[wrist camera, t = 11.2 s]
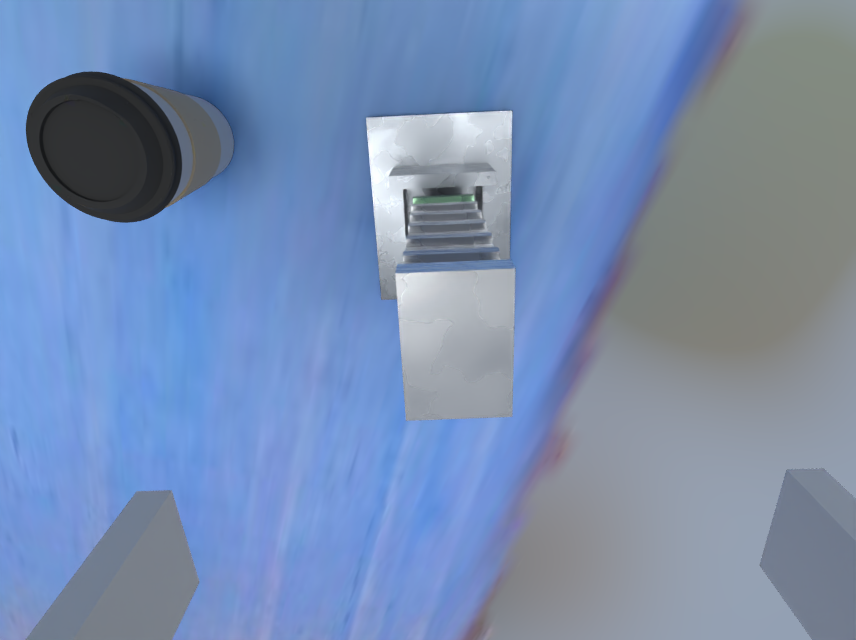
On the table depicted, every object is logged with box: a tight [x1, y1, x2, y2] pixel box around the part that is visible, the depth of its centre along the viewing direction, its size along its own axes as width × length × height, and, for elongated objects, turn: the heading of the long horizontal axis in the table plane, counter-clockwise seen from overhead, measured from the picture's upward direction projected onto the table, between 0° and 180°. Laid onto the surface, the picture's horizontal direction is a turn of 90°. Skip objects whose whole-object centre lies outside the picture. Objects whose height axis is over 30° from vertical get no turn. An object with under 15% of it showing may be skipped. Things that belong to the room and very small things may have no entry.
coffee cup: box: [26, 72, 234, 223], centre depth 37 cm, size 9×9×15 cm
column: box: [395, 194, 515, 421], centre depth 30 cm, size 4×6×21 cm
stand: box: [366, 110, 512, 300], centre depth 43 cm, size 12×16×8 cm
